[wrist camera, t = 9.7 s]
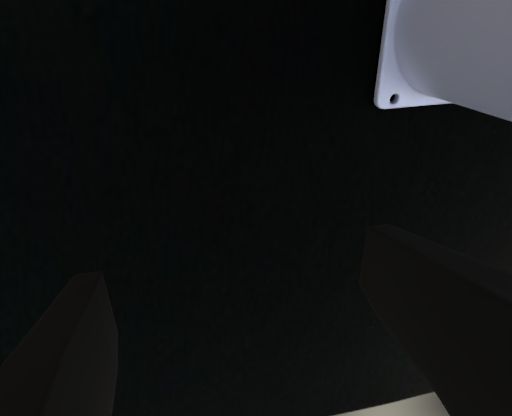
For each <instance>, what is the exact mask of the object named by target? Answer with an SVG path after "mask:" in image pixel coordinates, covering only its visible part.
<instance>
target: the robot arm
mask: <svg viewBox="0 0 512 416" xmlns="http://www.w3.org/2000/svg"><path fill="white" fill-rule="evenodd" d="M393 94H395V98H394V100H393V101H392V102H390V97H391V96H392V95H393ZM447 103H454V104H458V105H461V106H464V107H467V108H470V109H473V110H477V111H480V112H483V113H486V114H489V115H492V116H496V117H499V118H502V119H505V120H508V121H512V0H387V1H386V9H385V17H384V24H383V32H382V40H381V47H380V55H379V63H378V71H377V78H376V86H375V94H374V104H375V106H377V107H378V108H381V109H390V108H402V107H413V106H424V105H436V104H447ZM359 285H360V287H361V289H362V290H363V292H364V294H365V296H366V298H367V300H368V301H369V303H370V305H371V306H372V308H373V310H374V311H375V313H376V314H377V316H378V317H379V319H380V320H381V321H382V323H383V324H384V325H385V327H386V328H387V329H388V331H389V332H390V333H391V335H392V336H393V337H394V338H395V340H396V341H397V342H398V344H399V345H400V346H401V348H402V349H403V350H404V351H405V353H406V354H407V355H408V357H409V358H410V359H411V361H412V362H413V363H414V364H415V366H416V367H417V368H418V370H419V371H420V372H421V374H422V375H423V376H424V377H425V379H426V380H427V382H428V383H429V384H430V386H431V387H432V389H433V390H434V391H435V393H436V394H437V396H438V397H439V399H440V400H441V402H442V404H443V405H444V406H445V408H446V410H447V412H448V413H449V415H450V416H512V273H511V272H509V271H506V270H503V269H500V268H498V267H495V266H492V265H490V264H487V263H484V262H482V261H479V260H476V259H474V258H471V257H469V256H466V255H464V254H461V253H459V252H456V251H454V250H451V249H449V248H447V247H444V246H442V245H439V244H437V243H435V242H432V241H430V240H427V239H425V238H423V237H420V236H418V235H415V234H413V233H410V232H408V231H405V230H402V229H400V228H397V227H394V226H391V225H388V224H383V225H377V226H371V227H367V231H366V238H365V245H364V251H363V258H362V265H361V271H360V278H359ZM117 365H118V331H117V327H116V323H115V319H114V316H113V312H112V308H111V304H110V300H109V297H108V293H107V289H106V285H105V281H104V278H103V274H102V270H101V271H95V272H89V273H83V274H77V275H74V276H73V278H72V279H71V280H70V281H69V282H68V284H67V285H66V286H65V287H64V289H63V290H62V291H61V293H60V294H59V295H58V296H57V298H56V299H55V300H54V302H53V303H52V304H51V305H50V307H49V308H48V309H47V310H46V312H45V313H44V314H43V316H42V317H41V318H40V319H39V321H38V322H37V323H36V324H35V325H34V327H33V328H32V329H31V330H30V331H29V333H28V334H27V335H26V336H25V338H24V339H23V340H22V341H21V342H20V344H19V345H18V346H17V347H16V348H15V349H14V351H13V352H12V353H11V354H10V355H9V356H8V357H7V358H6V360H5V361H4V362H3V363H2V364H1V365H0V416H112V409H113V401H114V394H115V386H116V378H117Z"/></svg>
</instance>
